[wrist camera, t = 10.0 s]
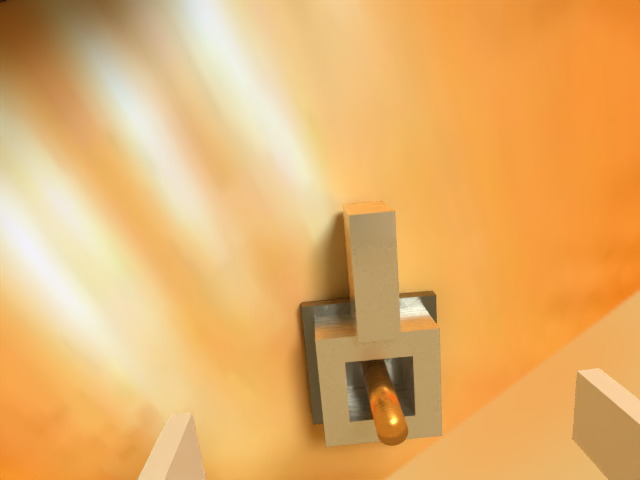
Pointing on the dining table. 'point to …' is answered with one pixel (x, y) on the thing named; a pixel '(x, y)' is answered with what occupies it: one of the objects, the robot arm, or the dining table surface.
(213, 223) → the dining table surface
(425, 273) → the dining table surface
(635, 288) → the dining table surface
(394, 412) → the peg on square plate
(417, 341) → the square loop with stem
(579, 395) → the robot arm
